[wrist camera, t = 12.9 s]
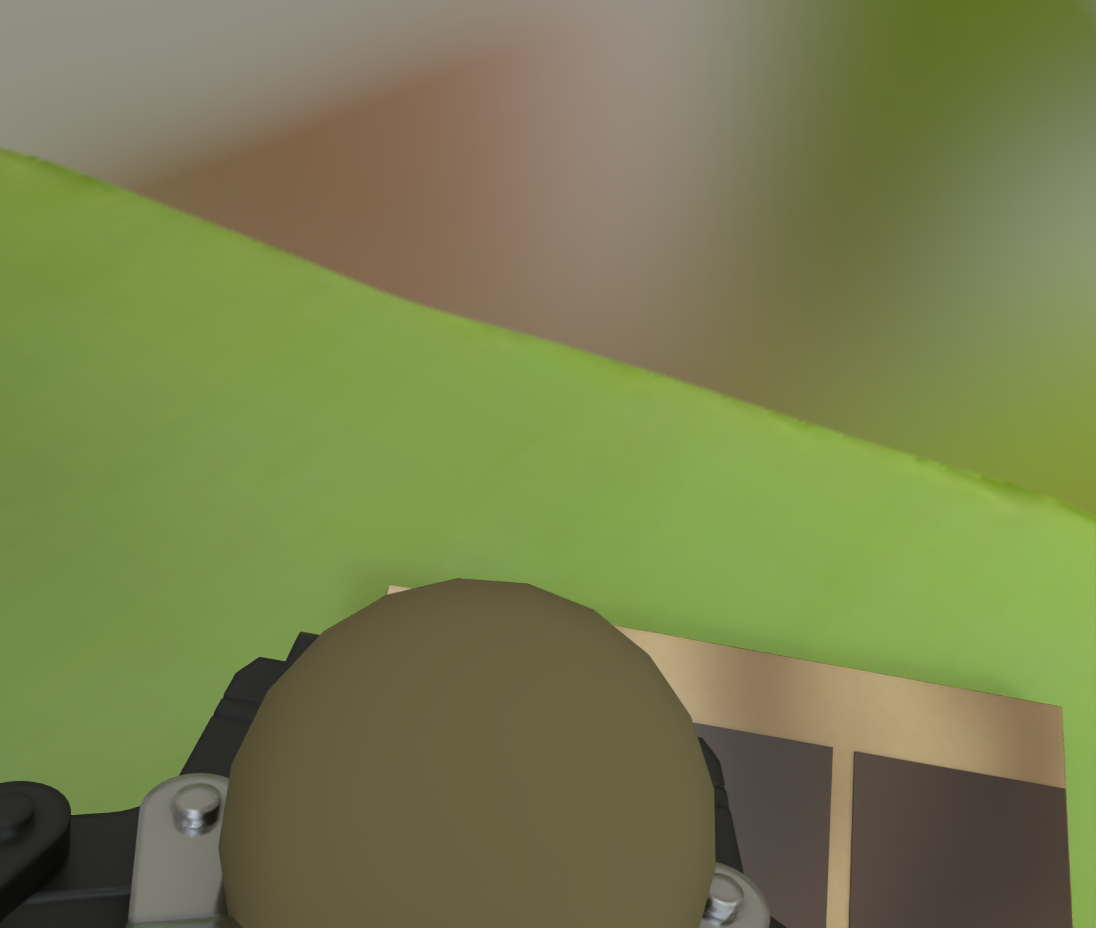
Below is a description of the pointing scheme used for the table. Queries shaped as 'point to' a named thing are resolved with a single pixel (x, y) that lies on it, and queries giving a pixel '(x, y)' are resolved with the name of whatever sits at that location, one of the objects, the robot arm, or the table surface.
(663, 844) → the olive brown pawn
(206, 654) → the table surface
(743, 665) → the board
